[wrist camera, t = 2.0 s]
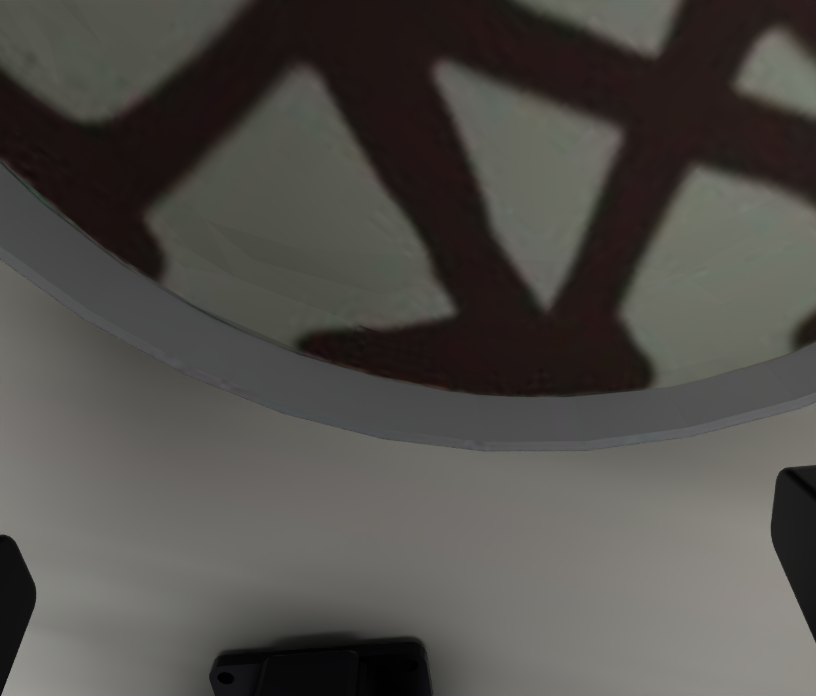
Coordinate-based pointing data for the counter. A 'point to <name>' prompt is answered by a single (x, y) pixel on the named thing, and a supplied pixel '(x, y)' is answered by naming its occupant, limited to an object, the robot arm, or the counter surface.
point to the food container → (430, 205)
